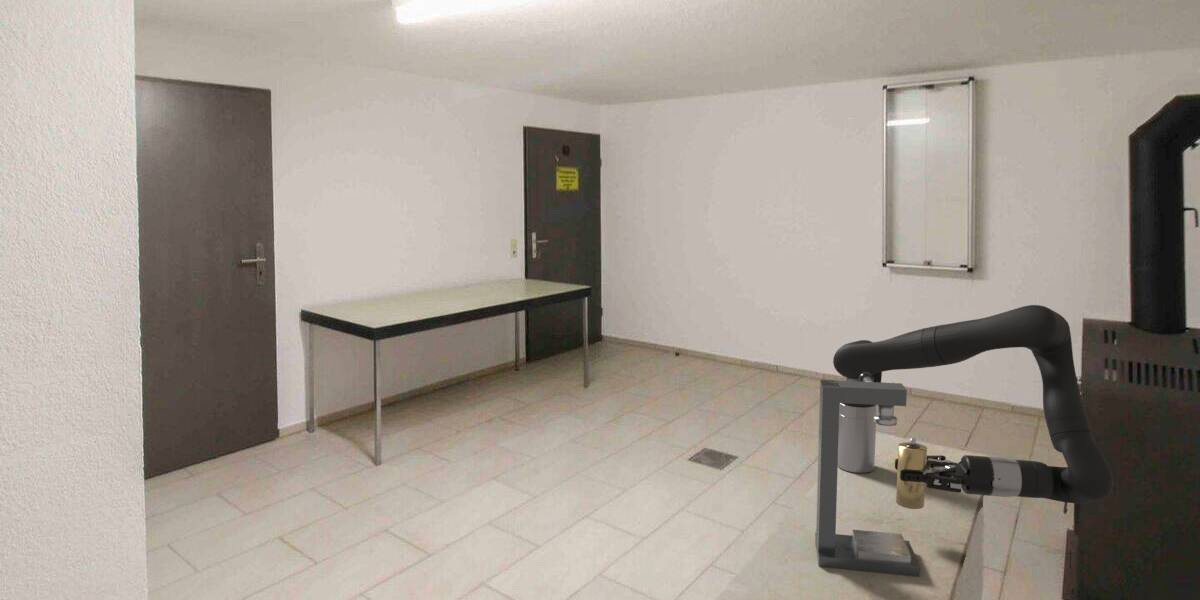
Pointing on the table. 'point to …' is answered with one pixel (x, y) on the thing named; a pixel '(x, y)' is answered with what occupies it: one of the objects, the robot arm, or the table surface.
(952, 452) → the table surface
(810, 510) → the table surface
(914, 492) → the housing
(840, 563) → the press
